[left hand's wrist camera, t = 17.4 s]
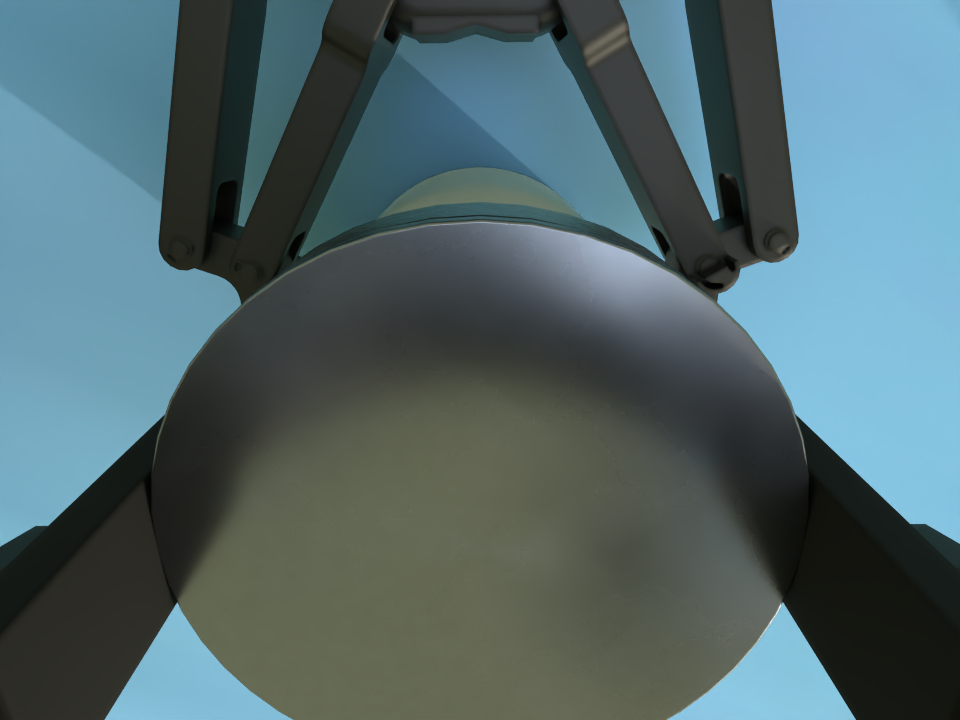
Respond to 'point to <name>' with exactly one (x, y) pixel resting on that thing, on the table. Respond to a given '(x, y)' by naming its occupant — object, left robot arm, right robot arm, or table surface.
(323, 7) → the table surface
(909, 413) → the table surface
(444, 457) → the lid
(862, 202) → the table surface
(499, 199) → the jar
